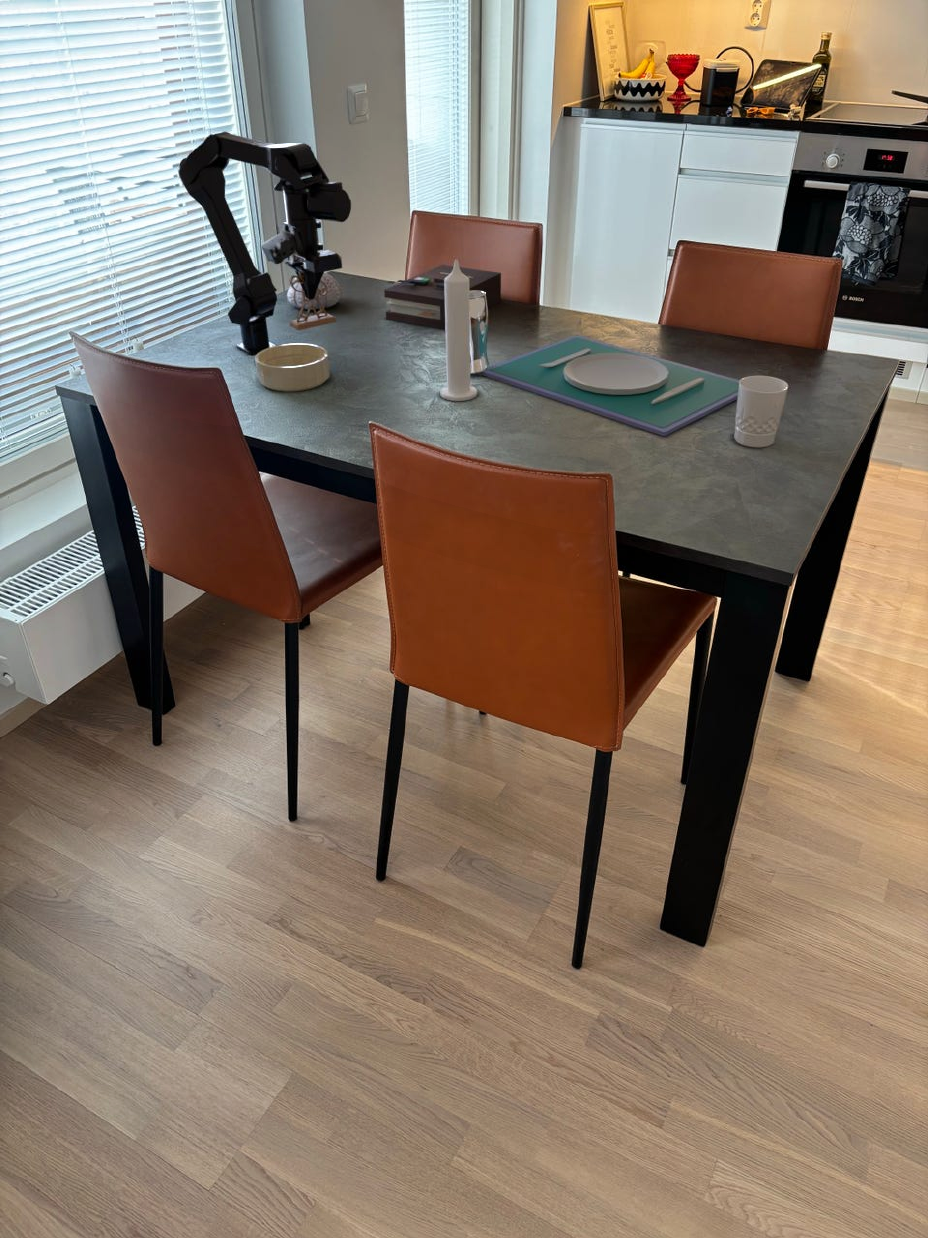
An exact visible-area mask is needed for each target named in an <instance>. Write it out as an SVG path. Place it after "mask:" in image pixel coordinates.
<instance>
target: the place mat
mask: <svg viewBox="0 0 928 1238" xmlns="http://www.w3.org/2000/svg"><path fill="white" fill-rule="evenodd" d="M489 366H490V365H489ZM480 375H482V376H484V377H488V378H490V379H493V380H497V381H499V382H502V383H506V384H508V385H511V386H514V387H517V388H520V389H523V390H526V391H528V392H532V393H534V394H536V395H540V396H544V397H546V398H548V399H552V400H555V401H559V402H561V403H564V404H567V405H570V406H573V407H576V408H578V409H581V410H585V411H587V412H590V413H593V414H597V415H600V416H603V417H605V418H608V419H611V420H614V421H617V422H621V423H623V424H626V425H629V426H632V427H635V428H637V429H641V430H643V431H647V432H649V433H652V434H653V433H654V434H656V435H659V436H662V437H666V436H668V435H670V434H671V433H674V432H676V431H678V430H679V429H681V428H683V427H685V426H687V425H689V424H691V423H693V422H695V421H697V420H700V419H701V418H703V417H705V416H707V415H709V414H711V413H713V412H715V411H717V410H718V409H719V410H720V409H721V408H723V407H724V406H726V405H728V404H731V403H732V402H735V401H737V398H738V389H739V381H740V380H741V379H736V378H732V377H730V376H726V375H722V374H719V373H715V372H711V371H708V370H704V369H700V368H697V367H693V366H690V365H686V364H682V363H679V362H676V361H672V360H668V359H666V358H665V359H664V358H661V357H658V356H654V355H651V354H647V353H644V352H640V351H636V350H633V349H628V348H625V347H622V346H618V345H615V344H611V343H608V342H604V341H601V340H597V339H593V338H589V337H587V336H582V335H579V334H574V335H571V336H569V337H567V338H563V339H560V340H558V341H556V342H553V343H549V344H548V345H545V346H542V347H539V348H536V349H533V350H531V351H528V352H525V353H523V354H521V355H518V356H515V357H512V358H509V359H506V360H504V361H502V362H498V363H496V364H493V365H491V366H490V369H489V370H488V371H486V372H484V373H481V374H480Z"/></svg>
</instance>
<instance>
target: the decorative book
mask: <svg viewBox="0 0 928 1238" xmlns="http://www.w3.org/2000/svg"><path fill="white" fill-rule="evenodd" d="M453 268H454V265H448V264H439V265H438V266H436V267H433V268H431V269H429V270H426V271H424V272H422V273H419V274H417V275H415V276H413V277H410V278H408V279H406V280H403V279H399V280H397V281H392V280H389V281H387V282H386V284H391V285H392V286H390V287H387V288H385V289H383V292H384V298H386V299H389V301H386V304H388V305H389V306H390V309H389V310H386V311H385V320H389V321H396V322H401V323H406V324H410V325H411V324H412V325H417V326H422V327H423V326H424V327H428V328H429V327H430V328H434V329H439V330H440V329H441V330H445V292H444V279H445V278H446V277H447V276H448V275H449V274H451V273H452V271H453ZM459 268H460V270H461V272H462V273H463V274H464V275H465V276H467V277H468V278H469V291H473V290H477V291H484V292H485V293H486V301H487V307H488V308H490V307H492V306H494V305H496V304H498V303H500V302H501V301H502V292H501V291H502V272H499V271H492V270H491V271H490V270H484V269H477V268H469V267H461V266H459ZM395 283H397V284H395ZM393 284H394V285H393Z"/></svg>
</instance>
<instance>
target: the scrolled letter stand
mask: <svg viewBox="0 0 928 1238" xmlns="http://www.w3.org/2000/svg"><path fill="white" fill-rule="evenodd" d="M302 266H303V265H302ZM301 274H302V273H301V272H300V271H299V277H300V279H301V280H302V281H303V282H300V280H299V278H298V277H297V275H296V274H292V275H291V276H290V277H289V285H290V286H291V287H292V288H293V289H294V290H295V291H297V292H301V293H302V295H303V303H302V306H301V308H299V312H298V315H297V318H296V319H293V320H289V327H291V328H293V329H295V330H297V331H302V330H303V331H304V330H307V329H312V328H315V327H320V326H325V325H329V324H332V323H336V320H337V319H336V316H333V315H331V314H329V313H327V311H326V310H325V308H323V307H322V305H321V304H320V302H319V301H318V299H317V292H316V294H315V297H314V299H311V300H316V301H317V303H318V304H319V306H320V307H321V309H318V311H317V309H314V307H313V306H312V304H310V305H309V308H308V309H307V311H306V314H305V313H303V311H304V309H303V308H304V306H305V303H306V301H307V302H308V301H311V300H310V299H308V298H306V299H305V291H304V290H302V291H299V290H296V289H295V288H294V286H293V285H295V284H296V283H300V284H304V286H305V282H304V279H303V278H304V277H303V276H302V275H301ZM302 277H303V278H302ZM296 278H297V279H296ZM294 279H296V280H295V281H294ZM320 282H321V283H322V284H323V285H324V287H323V288H321V289H317V290H318V293H319V295H321V296H325V295H326V294H327V291H328V290H327V286H326V284H325V283H324V282H323V281H321V280H320ZM323 290H325V292H324V294H321V291H322V292H323ZM311 308H312V311H313V312H314V314H315V315H310V314H311ZM301 317H302V318H301Z"/></svg>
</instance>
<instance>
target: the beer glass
mask: <svg viewBox="0 0 928 1238" xmlns="http://www.w3.org/2000/svg"><path fill="white" fill-rule="evenodd" d="M469 306H470V375H481V373H484V372H486V371H488V370H489V369H490V362H489V358H488V352H487V347H488V334H489V309H488V307H487V301H486V293H485V292H484V291H477V290H473V291H469Z"/></svg>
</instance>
